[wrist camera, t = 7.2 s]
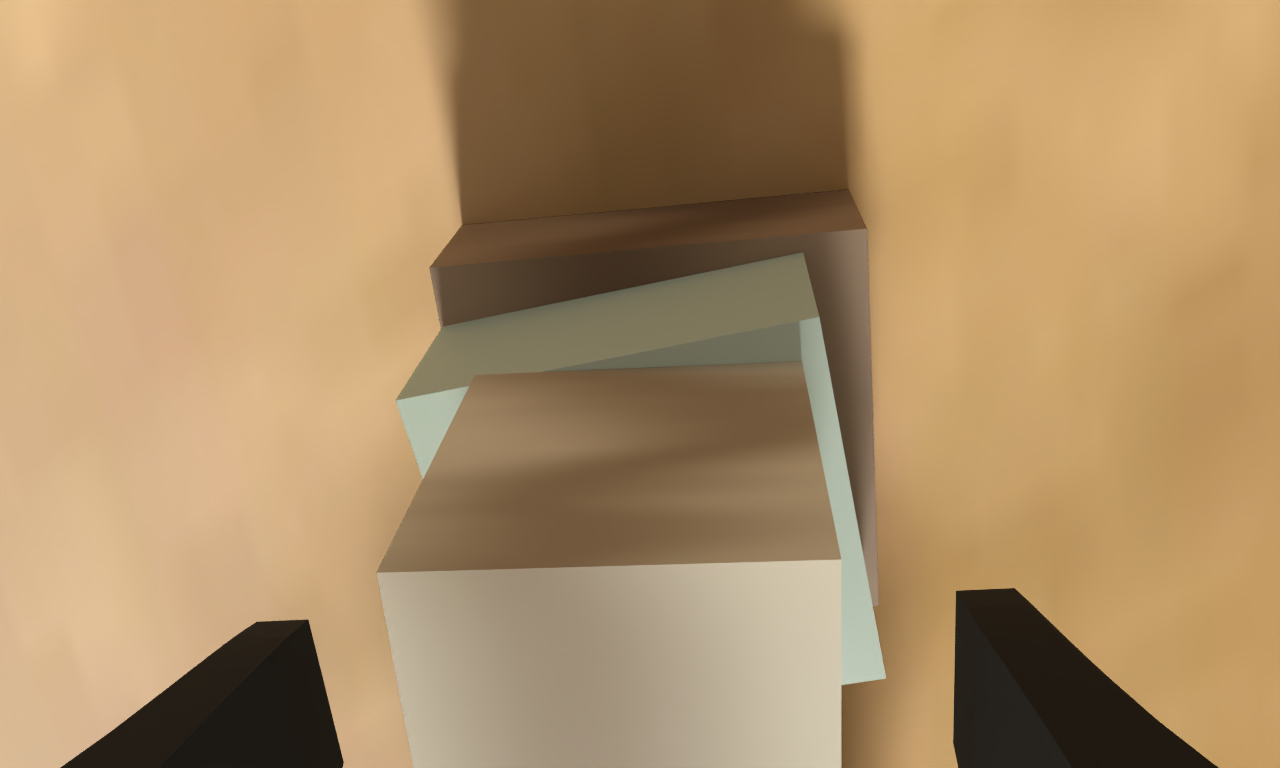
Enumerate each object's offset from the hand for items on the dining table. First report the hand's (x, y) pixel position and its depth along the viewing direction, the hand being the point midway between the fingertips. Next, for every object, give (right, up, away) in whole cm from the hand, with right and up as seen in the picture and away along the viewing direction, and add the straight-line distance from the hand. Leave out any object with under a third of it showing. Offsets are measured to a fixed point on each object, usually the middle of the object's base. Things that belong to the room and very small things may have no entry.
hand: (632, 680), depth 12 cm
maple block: (0, +1, +4) cm, 4 cm away
